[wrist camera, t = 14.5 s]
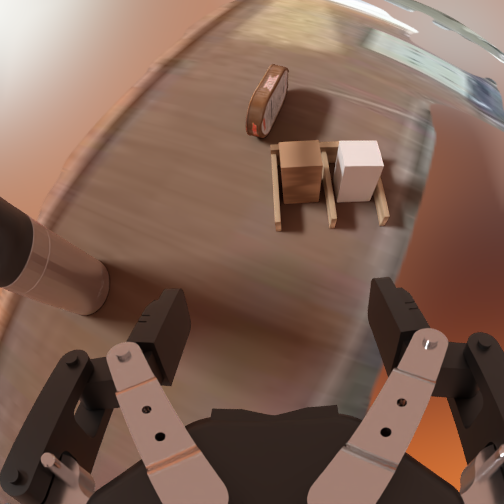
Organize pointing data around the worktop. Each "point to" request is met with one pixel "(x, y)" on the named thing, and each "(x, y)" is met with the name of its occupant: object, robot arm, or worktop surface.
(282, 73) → the tin
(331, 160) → the rack
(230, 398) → the worktop surface
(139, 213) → the worktop surface
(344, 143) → the white block
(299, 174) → the tan block
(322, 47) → the worktop surface
